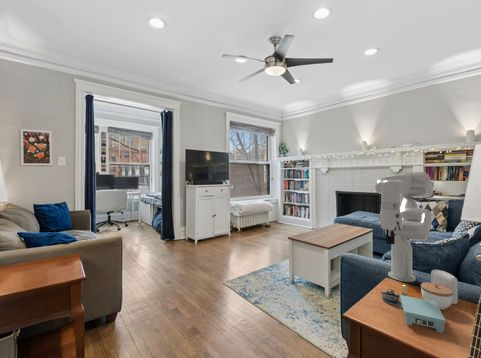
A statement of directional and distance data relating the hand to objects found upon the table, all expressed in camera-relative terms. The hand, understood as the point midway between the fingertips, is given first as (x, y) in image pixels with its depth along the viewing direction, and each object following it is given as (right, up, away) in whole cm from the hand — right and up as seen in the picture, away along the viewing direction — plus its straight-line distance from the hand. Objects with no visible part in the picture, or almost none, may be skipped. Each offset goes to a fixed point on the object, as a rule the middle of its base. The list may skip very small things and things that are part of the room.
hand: (390, 243), depth 115 cm
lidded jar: (+12, -24, -13) cm, 29 cm away
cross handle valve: (-4, -22, -9) cm, 25 cm away
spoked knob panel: (-4, -23, -18) cm, 30 cm away
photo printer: (+20, -23, -7) cm, 32 cm away
